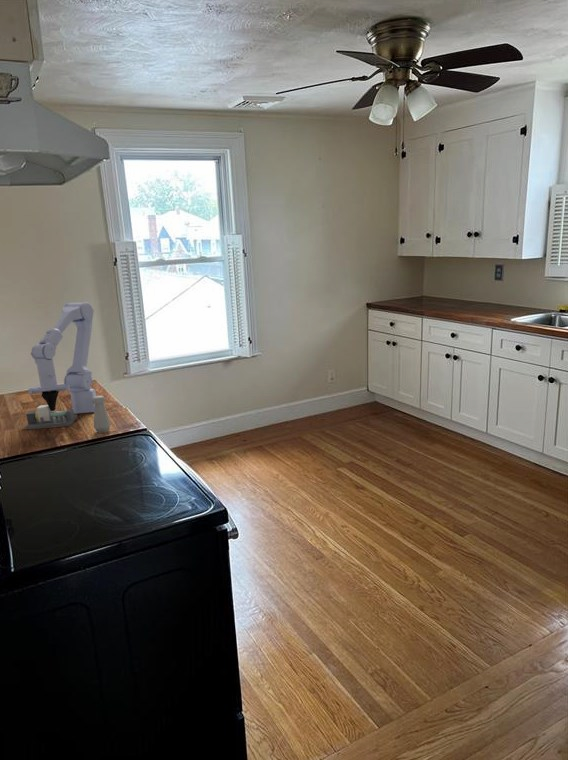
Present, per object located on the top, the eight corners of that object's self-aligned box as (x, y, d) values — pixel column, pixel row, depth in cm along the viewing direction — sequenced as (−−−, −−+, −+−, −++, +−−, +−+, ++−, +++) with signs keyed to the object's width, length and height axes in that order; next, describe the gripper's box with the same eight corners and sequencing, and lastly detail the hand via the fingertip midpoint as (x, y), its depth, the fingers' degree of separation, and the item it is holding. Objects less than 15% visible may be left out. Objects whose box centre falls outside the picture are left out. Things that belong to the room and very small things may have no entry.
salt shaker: (106, 434, 190) (100, 398, 187) (91, 434, 191) (85, 398, 188) (114, 428, 195) (109, 394, 192) (100, 428, 197) (94, 394, 193)
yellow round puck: (42, 418, 207) (40, 409, 206) (39, 421, 204) (37, 412, 203) (39, 419, 207) (37, 410, 206) (36, 421, 204) (34, 412, 203)
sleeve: (52, 417, 208) (50, 404, 207) (50, 420, 204) (47, 407, 203) (42, 418, 207) (39, 405, 206) (39, 422, 204) (36, 408, 202)
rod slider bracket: (77, 417, 212) (75, 404, 211) (70, 425, 202) (68, 412, 201) (34, 421, 210) (32, 408, 209) (26, 429, 201) (23, 416, 199)
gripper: (23, 379, 197) (29, 415, 201) (64, 376, 199) (70, 411, 202) (29, 375, 204) (35, 409, 207) (69, 371, 206) (74, 406, 209)
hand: (53, 410), depth 205 cm, fingers closed
